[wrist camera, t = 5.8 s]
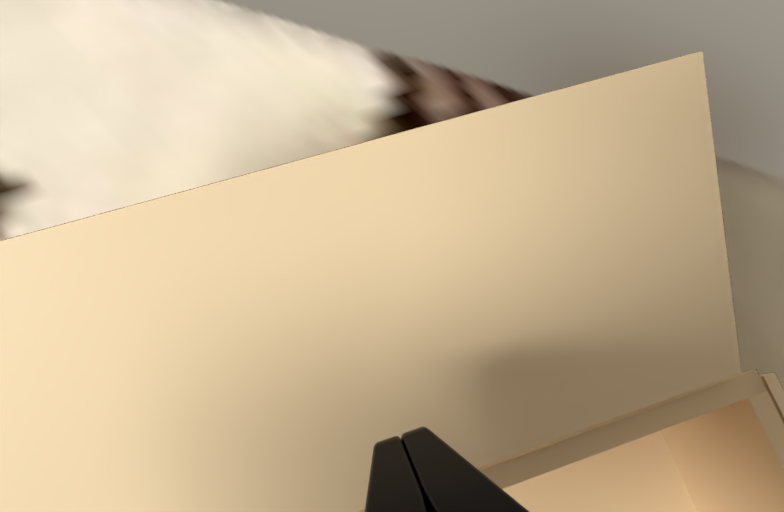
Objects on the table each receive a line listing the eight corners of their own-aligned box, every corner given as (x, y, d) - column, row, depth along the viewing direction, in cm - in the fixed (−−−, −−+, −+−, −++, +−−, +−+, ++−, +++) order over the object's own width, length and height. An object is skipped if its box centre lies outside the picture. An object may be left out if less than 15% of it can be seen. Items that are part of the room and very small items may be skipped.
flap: (741, 371, 13) (702, 50, 11) (4, 639, 10) (-179, 289, 9) (731, 366, 13) (691, 53, 11) (11, 626, 11) (-164, 285, 9)
